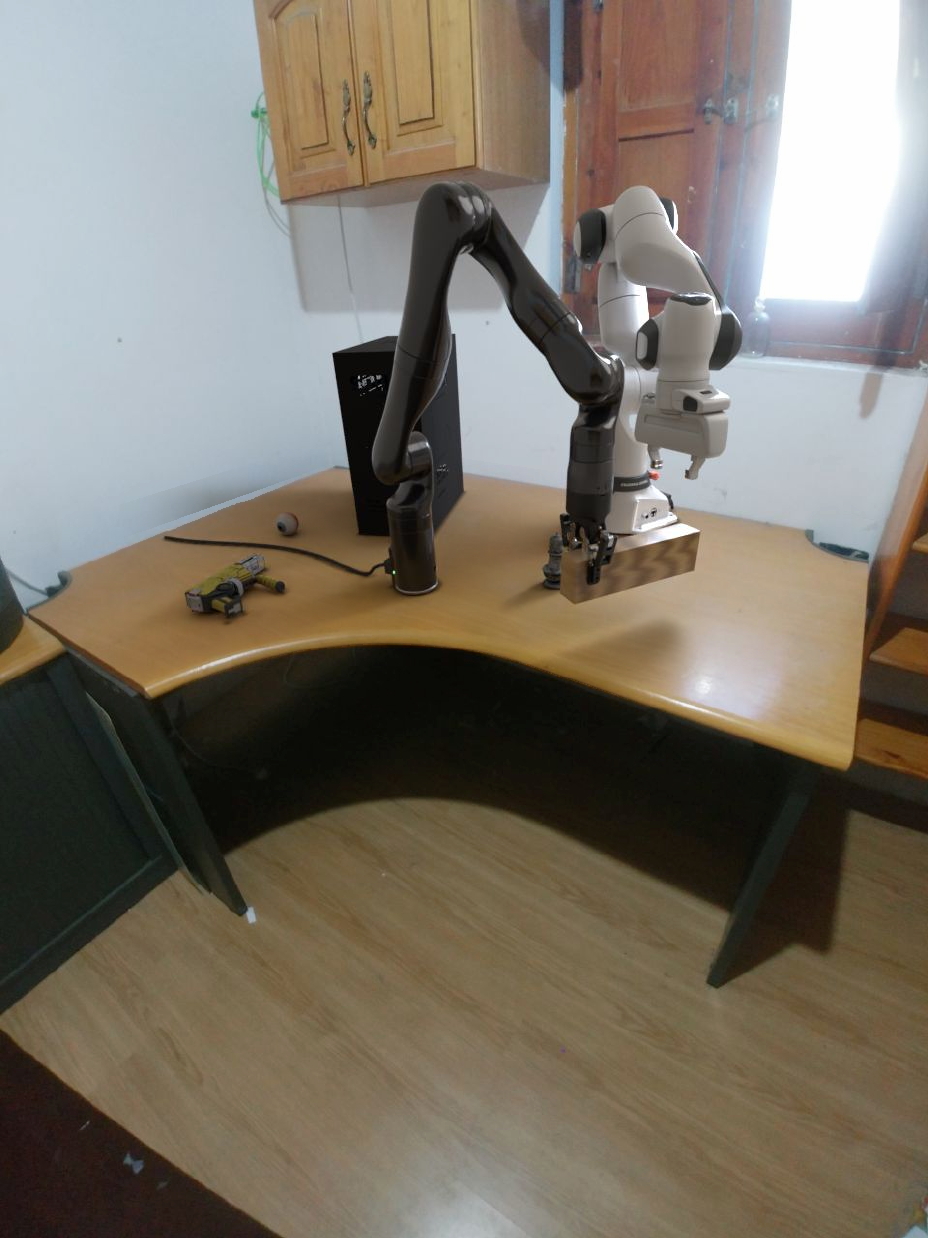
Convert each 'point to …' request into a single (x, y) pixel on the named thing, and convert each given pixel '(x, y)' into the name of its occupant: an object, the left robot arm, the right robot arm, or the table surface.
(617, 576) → the bar
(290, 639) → the table surface
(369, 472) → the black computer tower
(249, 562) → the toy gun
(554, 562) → the weathered chess pawn
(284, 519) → the eyeball
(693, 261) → the right robot arm
